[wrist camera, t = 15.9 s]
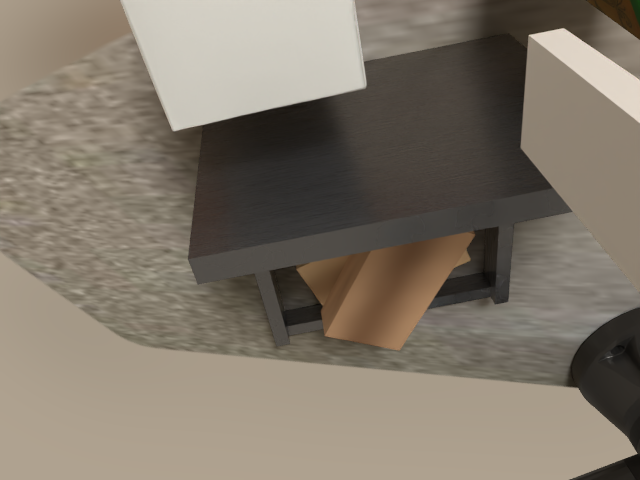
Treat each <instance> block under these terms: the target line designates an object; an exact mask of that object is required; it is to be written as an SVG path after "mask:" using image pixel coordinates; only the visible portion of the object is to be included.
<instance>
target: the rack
mask: <svg viewBox="0 0 640 480" xmlns="http://www.w3.org/2000/svg"><path fill="white" fill-rule="evenodd" d="M527 51H528V49H526V48H525V47H524V46H523V45H522V44H521V43H519V42H518V41H517V40H516V39H515V38H514V37H512V36H511V35H510V34H504V35H499V36H494V37H489V38H484V39H478V40H473V41H468V42H463V43H458V44H453V45H448V46H443V47H438V48H433V49H427V50H422V51H417V52H412V53H407V54H402V55H397V56H392V57H387V58H382V59H376V60H371V61H366V62H364V68H365V75H366V84H367V85H366V88H365V89H363V90H358V91H353V92H348V93H343V94H338V95H334V96H329V97H324V98H320V99H315V100H311V101H306V102H301V103H296V104H292V105H287V106H283V107H278V108H273V109H269V110H264V111H260V112H256V113H251V114H247V115H242V116H238V117H234V118H230V119H226V120H221V121H218V122H213V123H209V124H205V125H203V131H202V140H201V149H200V158H199V167H198V176H197V184H196V193H195V202H194V211H193V220H192V229H191V238H190V246H189V255H188V260H189V263H190V265H191V268H192V271H193V273H194V276H195V278H196V281H197V283H198V284H202V283H207V282H213V281H218V280H223V279H228V278H233V277H238V276H244V275H249V274H255V277H256V280H257V284H258V287H259V290H260V293H261V297H262V300H263V303H264V306H265V310H266V313H267V316H268V319H269V323H270V326H271V329H272V332H273V336H274V339H275V342H276V346H281V345H287V344H290V339H289V336H290V335H295V334H300V333H305V332H310V331H316V330H321V329H324V328H323V321H322V315H321V309H322V307H323V306H322V304H318V305H313V306H308V307H303V308H297V309H292V310H287V311H285V308H284V305H283V301H282V297H281V294H280V290H279V286H278V283H277V279H276V276H275V272H274V270H275V269H280V268H285V267H290V266H295V265H300V264H306V263H311V262H316V261H321V260H326V259H331V258H337V257H342V256H347V255H352V254H357V253H362V252H368V251H373V250H378V249H383V248H388V247H393V246H399V245H404V244H409V243H414V242H419V241H424V240H430V239H435V238H440V237H445V236H450V235H455V234H460V233H466V232H471V231H476V230H481V229H485V251H484V273H479V274H473V275H468V276H463V277H458V278H453V279H448V280H445V282H444V283H443V285H442V287H441V288H440V290H439V291H438V293H437V294H436V296H435V297H434V299H433V300H432V302H431V303H430V305H429V306H428V308H427V309H430V308H435V307H440V306H445V305H450V304H456V303H461V302H466V301H471V300H476V299H482V298H487V297H491V298H492V300H493V302H494V304H499V303H505V302H508V297H509V283H510V270H511V256H512V242H513V228H514V223H517V222H522V221H528V220H533V219H538V218H543V217H548V216H553V215H559V214H564V213H569V212H573V211H572V210H571V209H570V207H569V206H568V205H567V204H566V203H565V201H564V200H563V199H562V198H561V196H560V195H559V194H558V193H557V192H556V190H555V189H554V188H553V187H552V186H551V184H550V183H549V182H548V181H547V179H546V178H545V177H544V176H543V175H542V173H541V172H540V171H539V170H538V168H537V167H536V166H535V165H534V164H533V162H532V161H531V160H530V159H529V157H528V156H527V155H526V154H525V153H524V151H523V150H522V149H521V134H522V120H523V106H524V92H525V78H526V65H527Z"/></svg>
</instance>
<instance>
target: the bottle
mask: <svg viewBox="0 0 640 480" xmlns="http://www.w3.org/2000/svg"><path fill="white" fill-rule="evenodd" d="M586 1H588V2H589V3H590V4H592V5H593V6H594V7H596V8H597V9H598V10H600V11H601V12H603V13H604V14H605V15H607V16H608V17H609V18H611V19H612V20H613V21H615V22H616V23H618V24H619V25H620V26H622V27H623V28H624V29H626V30H627V31H628V32H630V33H631V34H633V35H634V36H635V37H637V38H638V39H639V40H640V0H586Z"/></svg>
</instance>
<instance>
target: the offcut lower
mask: <svg viewBox="0 0 640 480" xmlns="http://www.w3.org/2000/svg"><path fill="white" fill-rule="evenodd" d="M348 257H349V255H347V256H342V257H337V258H331V259H326V260H321V261H316V262H311V263H306V264H300V265H296V270H297V271H298V272H299V274H300V275H301V277H302V278H303V279H304V281H305V282H306V283H307V285H308V286H309V288H310V289H311V290H312V292H313V293H314V294H315V296H316V297H317V299H318V300H319V301H320V303H321V304H322V306H324V304H325V302H326V300H327V298H328V296H329V294H330V292H331V290H332V288H333V286H334V284H335V282H336V280H337V279H338V277H339V275H340V273H341V271H342V269H343V267H344V265H345V263H346V261H347V259H348ZM468 261H471V259H470V257H469V255H468V252H467V250H465V252H464V253H463V255H462V256H461V258H460V259H459V261H458V262H457V264H456V265H455V267H457V266H459V265H462V264H464V263H466V262H468ZM455 267H454V268H455Z"/></svg>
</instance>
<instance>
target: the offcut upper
mask: <svg viewBox="0 0 640 480" xmlns="http://www.w3.org/2000/svg"><path fill="white" fill-rule="evenodd" d="M475 235H476V234H475V233H474V231H471V232H466V233H460V234H455V235H450V236H445V237H440V238H435V239H430V240H424V241H419V242H414V243H409V244H404V245H399V246H393V247H388V248H383V249H378V250H373V251H368V252H362V253H357V254H352V255H349V257H348V259H347V261H346V263H345V265H344V267H343V269H342V271H341V273H340V275H339V277H338V279H337V280H336V282H335V284H334V286H333V288H332V290H331V292H330V294H329V296H328V298H327V300H326V302H325V304H324V306H323V307H322V309H321V315H322V321H323V328H324V334H325V336H327V337H332V338H338V339H343V340H348V341H353V342H358V343H364V344H369V345H374V346H379V347H384V348H390V349H395V350H400V349H401V347H402V346H403V344H404V343H405V341H406V340H407V338H408V337H409V335H410V334H411V332H412V331H413V329H414V328H415V326H416V324H417V323H418V321H419V320H420V318H421V317H422V315H423V314H424V312H425V311H426V309H427V308H428V306H429V305H430V303H431V302H432V300H433V299H434V297H435V296H436V294H437V293H438V291H439V290H440V288H441V287H442V285H443V283H444V282H445V280H446V279H447V277H448V276H449V274H450V273H451V271H452V270H453V268H454V267H455V265H456V264H457V262H458V261H459V259H460V258H461V256H462V255H463V253H464V252H465V250H466V249H467V247H468V246H469V244H470V243H471V241H472V239H473V238H474V236H475Z"/></svg>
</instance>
